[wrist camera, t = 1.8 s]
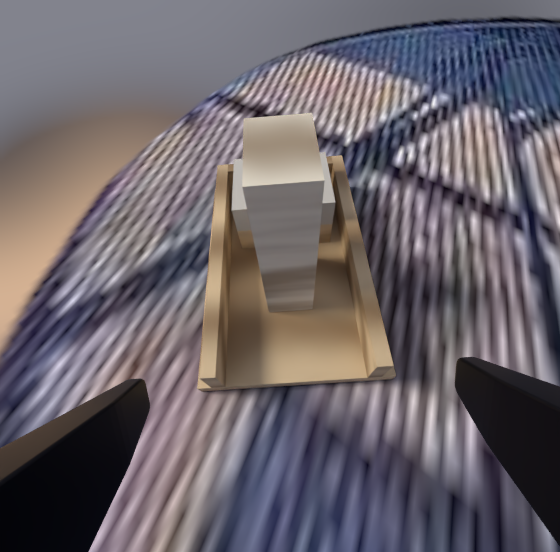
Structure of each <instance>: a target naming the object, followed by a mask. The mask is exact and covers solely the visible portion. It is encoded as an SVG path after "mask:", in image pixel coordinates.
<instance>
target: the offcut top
mask: <svg viewBox="0 0 560 552" xmlns="http://www.w3.org/2000/svg"><path fill="white" fill-rule="evenodd" d="M320 159H321V164H322V169H323V175H324V180H325V181H324V192H323V203H322V214H321V224H320V225H326V224H332V223H333V216H334V209H335V198H334V193H333V188H332V183H331V178H330V173H329V168H328V163H327V158H326V153H325V152H323V153H320ZM242 174H243V159H236V160H234V168H233V190H232V214H233V217H234V221H235V224H236V228H237V231H247V230H251V226H250V221H249V216H248V212H247V207H246V202H245V198H244V193H243V188H242Z"/></svg>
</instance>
